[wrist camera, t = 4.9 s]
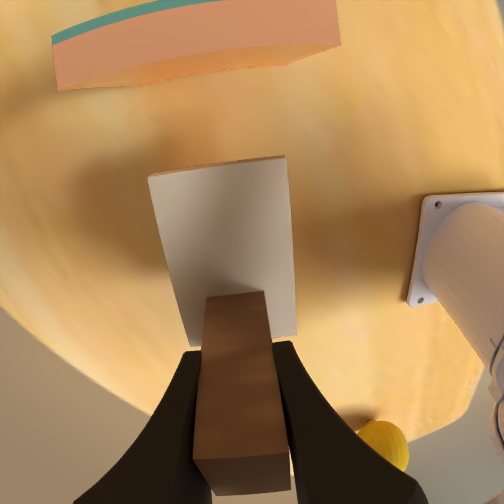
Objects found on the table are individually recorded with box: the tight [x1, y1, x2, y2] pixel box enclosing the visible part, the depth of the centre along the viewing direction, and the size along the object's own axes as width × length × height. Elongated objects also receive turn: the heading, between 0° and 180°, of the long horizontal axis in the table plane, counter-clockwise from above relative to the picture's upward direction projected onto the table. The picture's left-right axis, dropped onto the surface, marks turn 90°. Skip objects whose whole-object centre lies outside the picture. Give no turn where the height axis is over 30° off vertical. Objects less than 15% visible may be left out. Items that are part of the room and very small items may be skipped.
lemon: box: [357, 420, 409, 472], centre depth 25 cm, size 6×6×8 cm
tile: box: [52, 0, 341, 91], centre depth 9 cm, size 7×2×8 cm, turn 96°
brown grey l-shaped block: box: [147, 155, 297, 496], centre depth 10 cm, size 5×8×8 cm, turn 6°
